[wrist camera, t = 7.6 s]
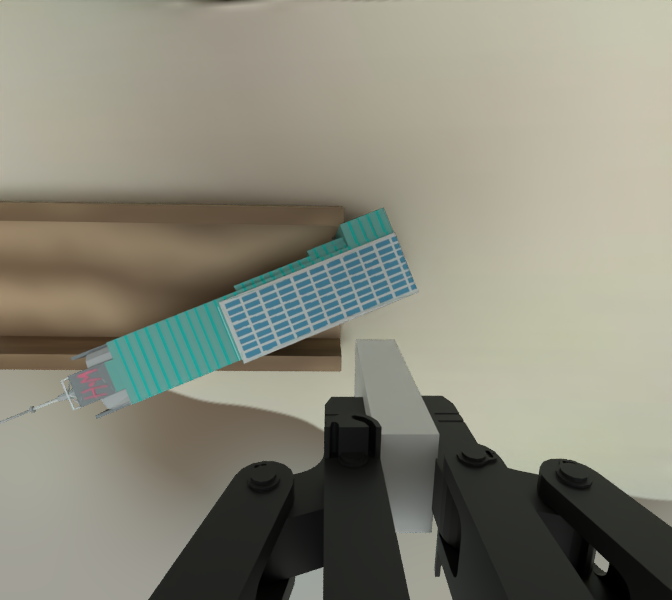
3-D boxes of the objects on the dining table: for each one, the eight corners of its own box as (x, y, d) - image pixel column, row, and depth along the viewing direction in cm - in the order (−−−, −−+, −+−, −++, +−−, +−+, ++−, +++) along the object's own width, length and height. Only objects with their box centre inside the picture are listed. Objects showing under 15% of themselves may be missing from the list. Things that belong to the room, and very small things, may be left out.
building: (397, 293, 33) (33, 443, 31) (369, 224, 33) (1, 369, 31) (418, 291, 27) (-33, 477, 25) (384, 206, 27) (-73, 385, 25)
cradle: (-10, 200, 33) (-76, 201, 27) (341, 206, 33) (344, 207, 28) (15, 343, 36) (-40, 369, 30) (339, 345, 36) (341, 371, 31)
